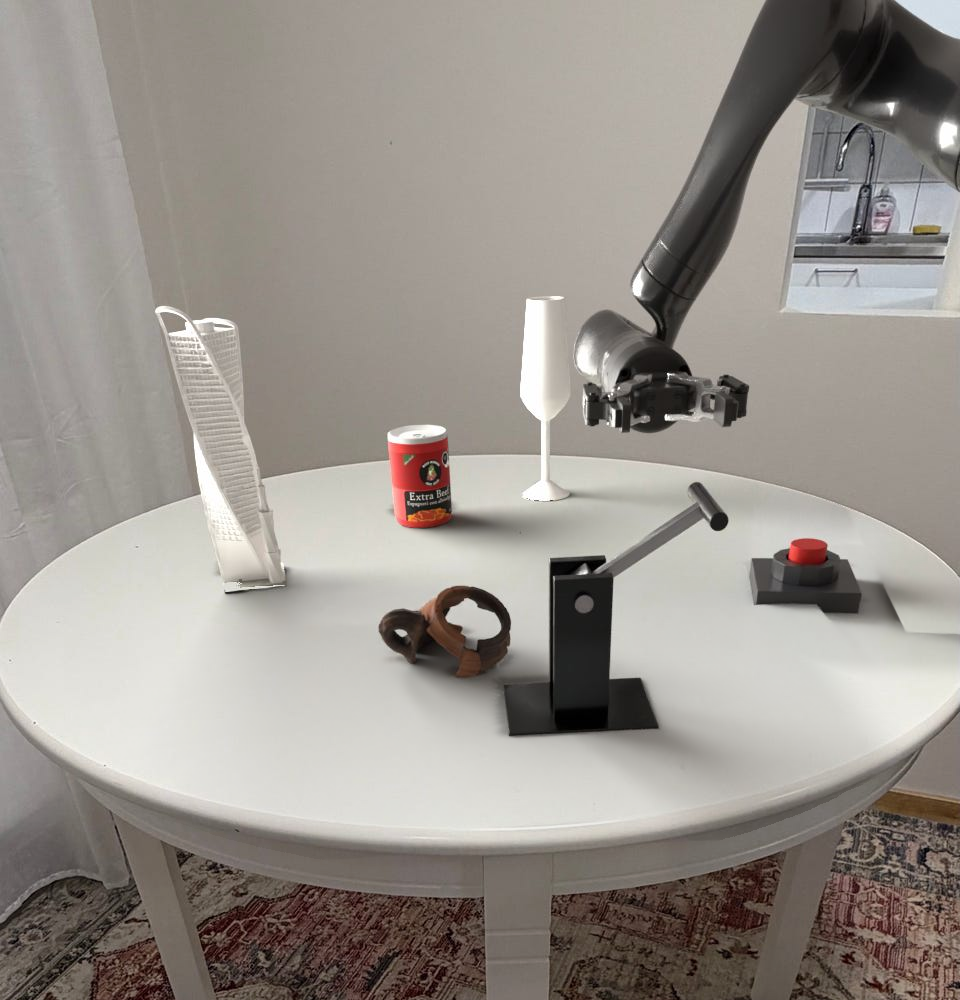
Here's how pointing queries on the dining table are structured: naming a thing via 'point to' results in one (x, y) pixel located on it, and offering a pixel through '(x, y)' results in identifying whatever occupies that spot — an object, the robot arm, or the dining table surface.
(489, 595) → the brown curved ring piece
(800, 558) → the button
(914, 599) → the dining table surface
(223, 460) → the skyscraper
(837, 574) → the housing
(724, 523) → the switch lever
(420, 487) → the canned food
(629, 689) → the switch bracket
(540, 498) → the champagne flute
